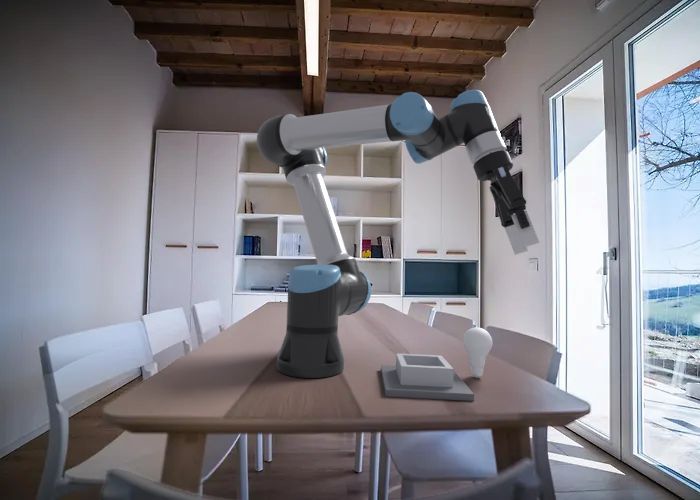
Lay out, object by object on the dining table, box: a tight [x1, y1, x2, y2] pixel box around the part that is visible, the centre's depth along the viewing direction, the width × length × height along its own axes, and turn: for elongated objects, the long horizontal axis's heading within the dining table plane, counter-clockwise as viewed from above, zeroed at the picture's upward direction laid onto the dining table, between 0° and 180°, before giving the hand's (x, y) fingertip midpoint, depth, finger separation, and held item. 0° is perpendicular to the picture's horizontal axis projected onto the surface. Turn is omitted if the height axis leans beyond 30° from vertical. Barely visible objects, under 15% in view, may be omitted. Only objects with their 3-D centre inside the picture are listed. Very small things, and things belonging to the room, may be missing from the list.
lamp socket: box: [380, 353, 475, 402], centre depth 72 cm, size 16×16×5 cm
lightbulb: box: [462, 327, 493, 379], centre depth 78 cm, size 6×6×11 cm
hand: (526, 249), depth 73 cm, fingers open, 13 cm apart
